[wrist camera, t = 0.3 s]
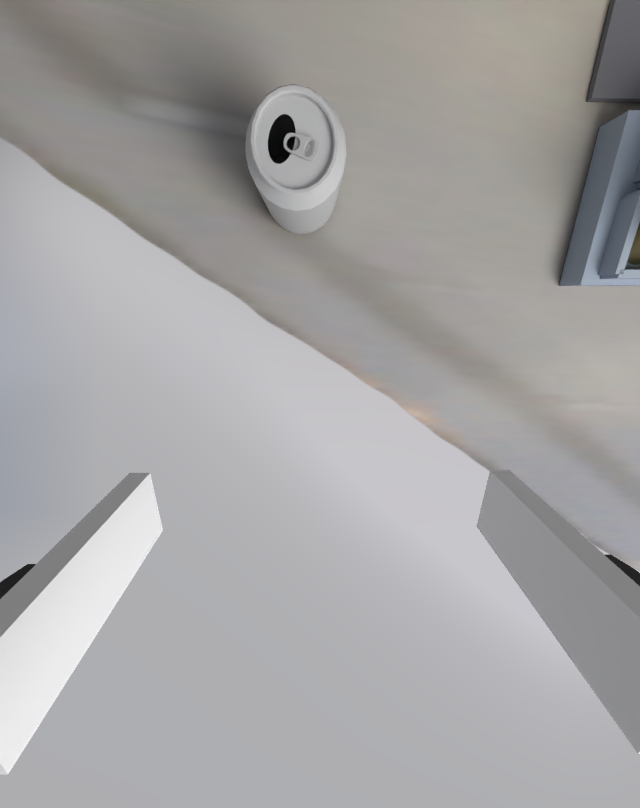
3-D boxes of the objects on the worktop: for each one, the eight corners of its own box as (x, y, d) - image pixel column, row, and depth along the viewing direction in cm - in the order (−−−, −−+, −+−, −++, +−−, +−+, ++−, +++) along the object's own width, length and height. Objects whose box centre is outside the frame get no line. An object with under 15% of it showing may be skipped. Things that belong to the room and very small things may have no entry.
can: (277, 139, 30) (256, 46, 19) (346, 170, 31) (365, 98, 20) (257, 220, 32) (228, 180, 21) (322, 246, 33) (327, 221, 22)
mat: (610, 2, 27) (616, -4, 26) (684, 3, 27) (692, -3, 27) (586, 101, 29) (591, 97, 29) (655, 102, 30) (661, 98, 29)
